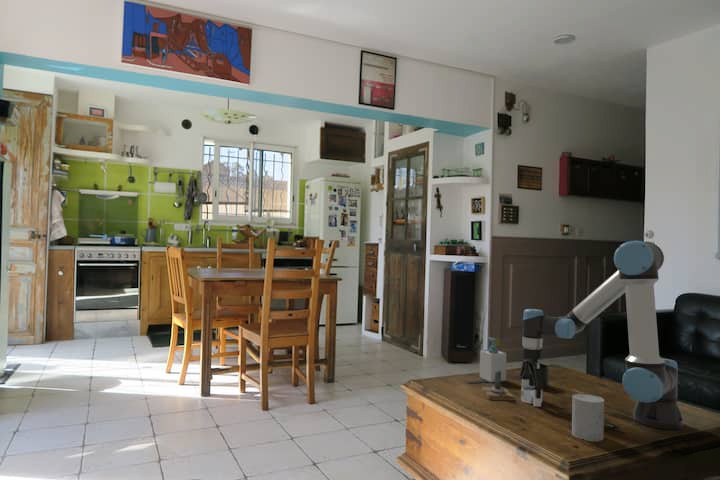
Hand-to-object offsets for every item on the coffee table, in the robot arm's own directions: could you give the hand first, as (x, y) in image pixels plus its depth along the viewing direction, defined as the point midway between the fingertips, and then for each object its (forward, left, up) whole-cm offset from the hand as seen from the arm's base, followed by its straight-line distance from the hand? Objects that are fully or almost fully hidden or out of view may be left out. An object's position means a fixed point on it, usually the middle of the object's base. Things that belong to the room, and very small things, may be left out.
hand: (531, 400), depth 188 cm
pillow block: (+6, +12, 0) cm, 13 cm away
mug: (+23, -10, 0) cm, 25 cm away
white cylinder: (-35, -6, 0) cm, 36 cm away
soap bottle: (+32, +7, 0) cm, 33 cm away
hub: (0, 0, 0) cm, 0 cm away
